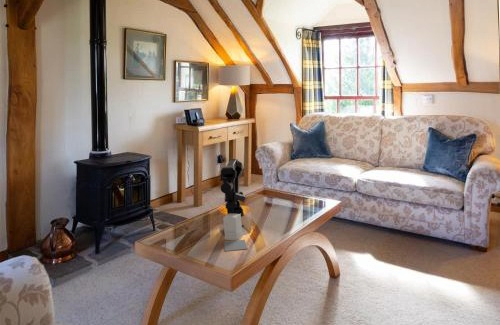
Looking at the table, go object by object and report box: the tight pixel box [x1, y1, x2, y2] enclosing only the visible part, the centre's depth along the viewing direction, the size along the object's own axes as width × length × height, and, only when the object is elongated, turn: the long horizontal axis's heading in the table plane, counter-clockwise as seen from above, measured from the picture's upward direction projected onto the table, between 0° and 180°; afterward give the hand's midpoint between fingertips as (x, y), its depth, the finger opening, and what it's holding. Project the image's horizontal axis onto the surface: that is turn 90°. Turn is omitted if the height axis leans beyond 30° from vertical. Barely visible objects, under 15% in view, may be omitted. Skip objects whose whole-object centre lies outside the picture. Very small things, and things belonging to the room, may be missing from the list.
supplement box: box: [222, 213, 243, 241], centre depth 215 cm, size 7×7×13 cm
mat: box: [223, 239, 248, 252], centre depth 204 cm, size 14×11×1 cm
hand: (231, 217), depth 224 cm, fingers closed
